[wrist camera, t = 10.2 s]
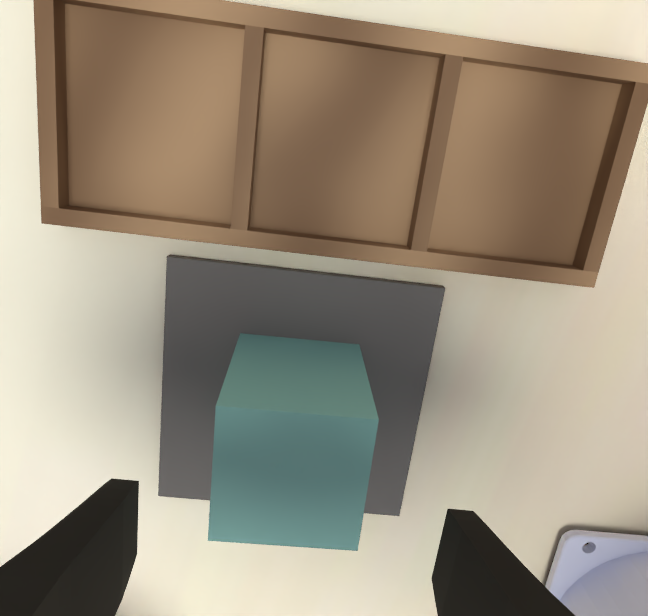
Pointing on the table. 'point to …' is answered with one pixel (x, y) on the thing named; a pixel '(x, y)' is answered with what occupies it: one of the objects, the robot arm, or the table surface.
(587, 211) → the organizer
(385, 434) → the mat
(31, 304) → the table surface
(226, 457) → the teal block
